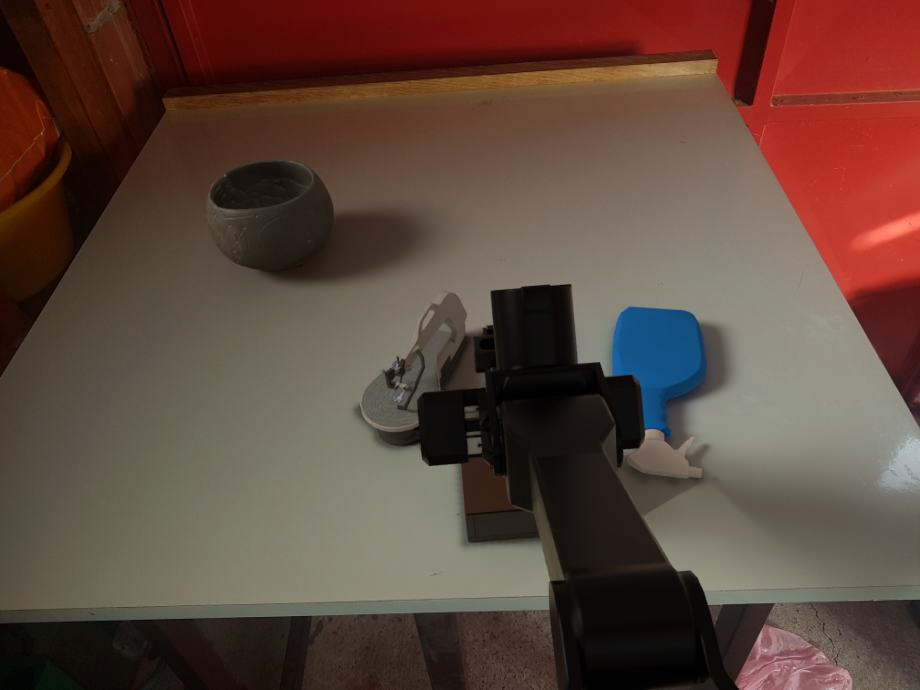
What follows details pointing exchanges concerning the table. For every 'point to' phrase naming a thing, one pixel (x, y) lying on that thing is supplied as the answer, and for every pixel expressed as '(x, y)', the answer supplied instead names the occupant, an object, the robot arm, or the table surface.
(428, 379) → the scroll saw
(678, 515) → the table surface
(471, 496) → the lid
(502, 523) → the dark grey flat tray
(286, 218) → the bowl
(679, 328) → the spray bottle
